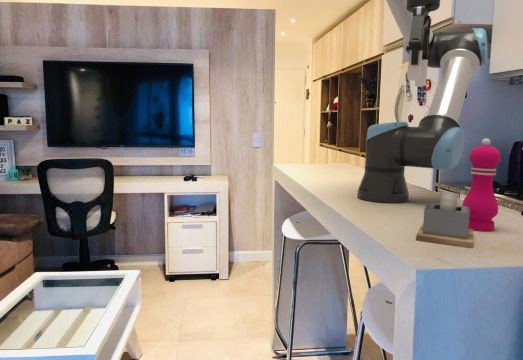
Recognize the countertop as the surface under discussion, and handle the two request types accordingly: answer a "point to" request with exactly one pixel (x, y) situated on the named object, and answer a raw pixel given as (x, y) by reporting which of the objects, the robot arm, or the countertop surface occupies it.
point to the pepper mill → (482, 187)
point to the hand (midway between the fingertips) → (417, 83)
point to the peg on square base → (446, 203)
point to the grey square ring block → (446, 221)
